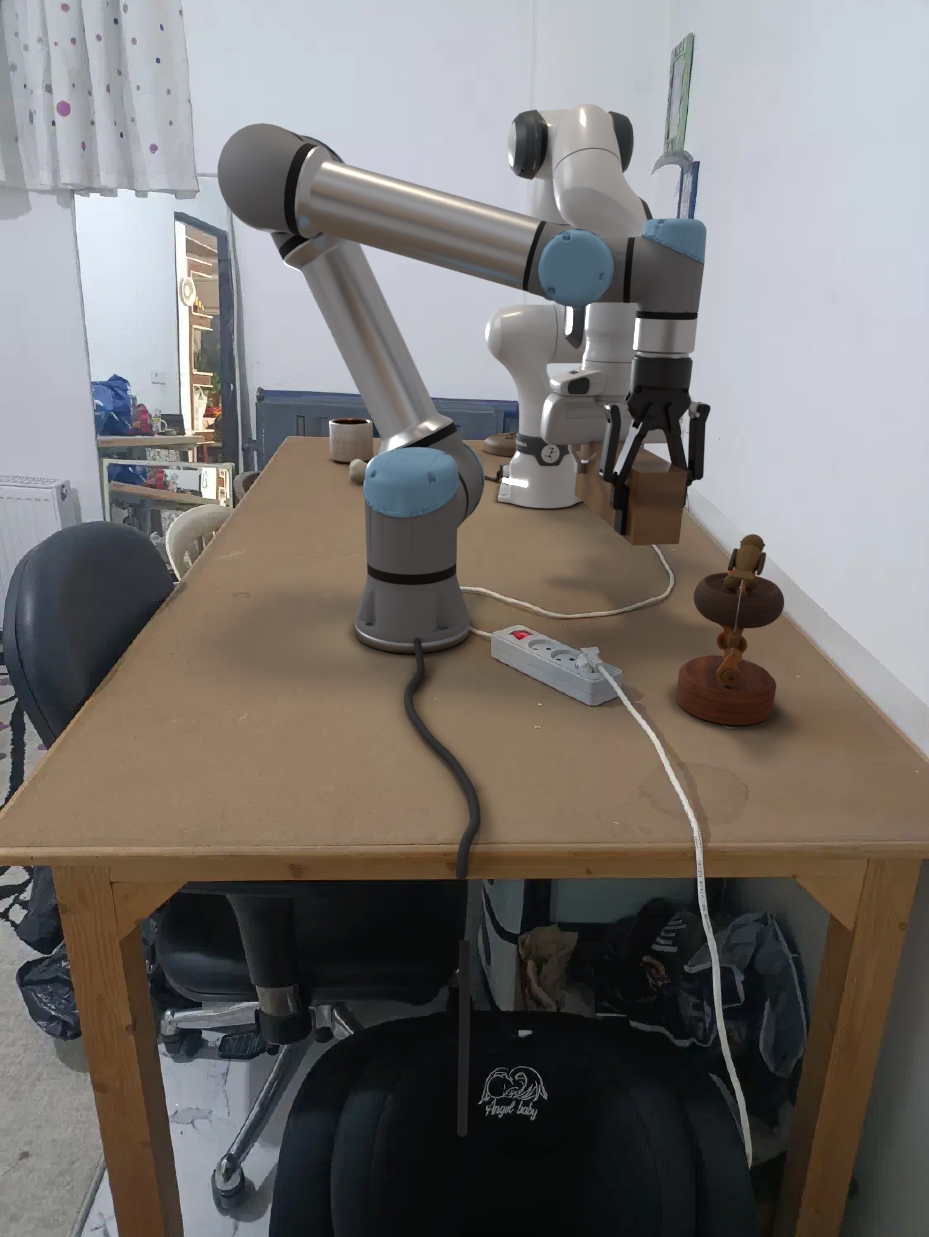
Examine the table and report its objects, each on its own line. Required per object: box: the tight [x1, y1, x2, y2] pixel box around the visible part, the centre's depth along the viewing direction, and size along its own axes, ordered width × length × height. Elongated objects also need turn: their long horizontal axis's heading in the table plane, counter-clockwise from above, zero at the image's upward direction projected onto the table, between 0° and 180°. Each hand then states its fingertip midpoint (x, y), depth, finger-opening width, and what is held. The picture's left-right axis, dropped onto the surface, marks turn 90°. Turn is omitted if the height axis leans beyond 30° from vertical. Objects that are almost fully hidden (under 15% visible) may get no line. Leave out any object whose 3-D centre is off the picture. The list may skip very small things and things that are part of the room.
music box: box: [675, 533, 785, 726], centre depth 92 cm, size 15×11×20 cm
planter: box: [328, 417, 375, 464], centre depth 212 cm, size 11×11×10 cm
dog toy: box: [348, 459, 368, 483], centre depth 192 cm, size 20×6×5 cm, turn 99°
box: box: [575, 441, 687, 546], centre depth 122 cm, size 28×6×10 cm, turn 9°
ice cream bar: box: [483, 431, 518, 457], centre depth 222 cm, size 21×28×4 cm
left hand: (644, 531), depth 115 cm, fingers closed on box, 6 cm apart
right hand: (603, 472), depth 131 cm, fingers closed on box, 6 cm apart
